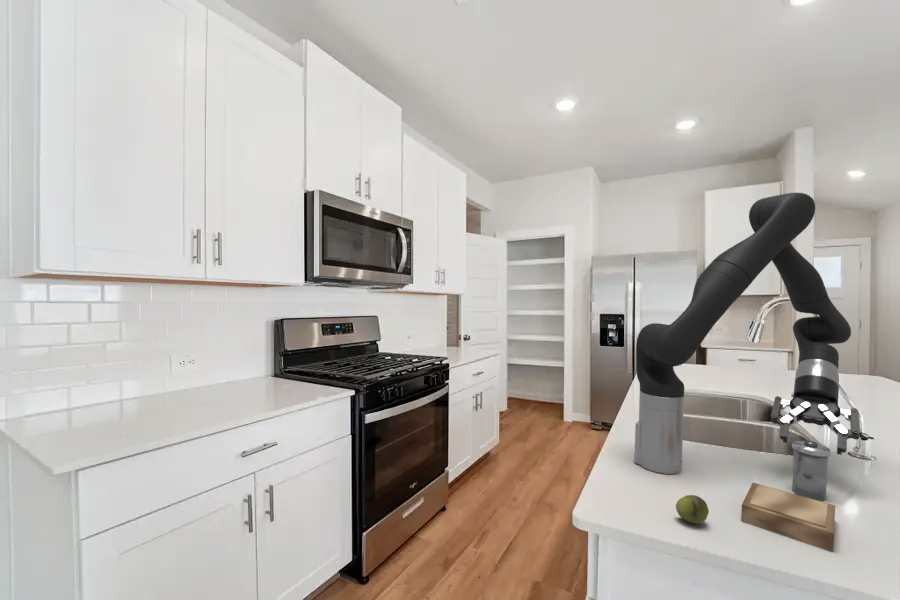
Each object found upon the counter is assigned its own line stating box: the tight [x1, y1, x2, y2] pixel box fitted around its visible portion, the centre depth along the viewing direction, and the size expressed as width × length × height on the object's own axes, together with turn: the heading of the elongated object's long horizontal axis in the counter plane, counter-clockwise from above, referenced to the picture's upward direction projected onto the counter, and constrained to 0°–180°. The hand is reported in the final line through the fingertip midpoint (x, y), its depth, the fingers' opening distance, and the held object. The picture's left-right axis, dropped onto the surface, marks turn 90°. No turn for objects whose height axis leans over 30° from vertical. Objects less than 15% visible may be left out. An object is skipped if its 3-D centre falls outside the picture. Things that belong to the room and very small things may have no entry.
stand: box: [740, 482, 836, 553], centre depth 73 cm, size 12×12×3 cm
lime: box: [675, 494, 709, 524], centre depth 72 cm, size 4×5×5 cm
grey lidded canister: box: [791, 439, 831, 502], centre depth 83 cm, size 6×6×11 cm
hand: (811, 446), depth 85 cm, fingers open, 8 cm apart
